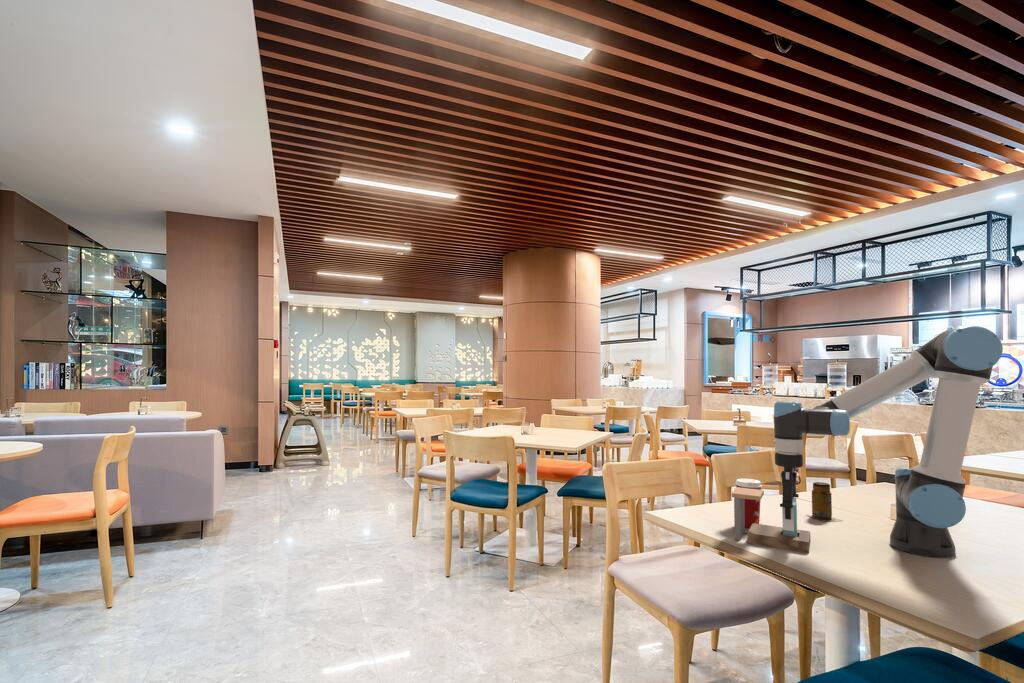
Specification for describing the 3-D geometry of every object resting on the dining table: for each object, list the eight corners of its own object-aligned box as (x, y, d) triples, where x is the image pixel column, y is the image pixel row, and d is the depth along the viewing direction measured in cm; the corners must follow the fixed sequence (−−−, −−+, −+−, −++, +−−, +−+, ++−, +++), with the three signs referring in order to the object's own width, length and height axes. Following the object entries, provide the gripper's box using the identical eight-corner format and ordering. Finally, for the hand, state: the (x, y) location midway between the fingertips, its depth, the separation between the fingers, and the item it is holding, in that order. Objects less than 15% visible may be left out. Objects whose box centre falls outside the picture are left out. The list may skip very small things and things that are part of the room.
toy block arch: (764, 535, 166) (763, 490, 166) (760, 544, 157) (760, 496, 158) (737, 531, 170) (736, 487, 170) (732, 539, 161) (731, 493, 162)
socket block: (810, 541, 160) (810, 531, 160) (808, 553, 150) (808, 542, 150) (752, 532, 168) (752, 523, 168) (747, 543, 158) (747, 532, 158)
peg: (797, 543, 158) (796, 502, 159) (796, 546, 155) (795, 505, 156) (784, 541, 160) (783, 501, 161) (783, 544, 157) (782, 503, 157)
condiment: (822, 514, 191) (822, 481, 191) (842, 521, 182) (841, 486, 183) (805, 515, 189) (804, 481, 190) (824, 522, 181) (823, 486, 181)
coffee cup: (765, 530, 170) (764, 483, 171) (738, 529, 172) (737, 482, 173) (759, 523, 179) (758, 478, 179) (733, 521, 180) (732, 477, 181)
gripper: (778, 446, 171) (779, 513, 170) (770, 457, 150) (772, 533, 149) (804, 448, 168) (806, 516, 166) (800, 459, 146) (802, 537, 145)
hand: (790, 524), depth 158 cm, fingers open, 13 cm apart
